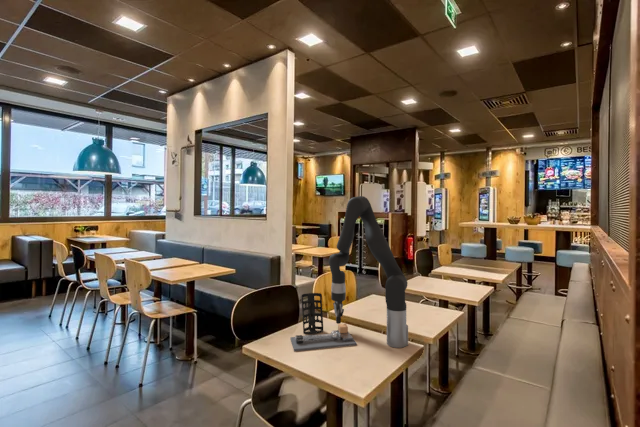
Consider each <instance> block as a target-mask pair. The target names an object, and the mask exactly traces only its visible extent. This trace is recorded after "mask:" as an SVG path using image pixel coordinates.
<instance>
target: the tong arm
mask: <svg viewBox="0 0 640 427" xmlns="http://www.w3.org/2000/svg"><path fill="white" fill-rule="evenodd" d="M332 335H333V334H331V333H323V334H321V333H319V334H304V335H302V334H298V335H295V336H294V337H295V340H296V339H297V340H303V339H312V338H329V337H332Z"/></svg>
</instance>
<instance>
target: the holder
mask: <svg viewBox="0 0 640 427" xmlns="http://www.w3.org/2000/svg"><path fill="white" fill-rule="evenodd" d="M306 297H307V300H304V298H306ZM315 297H319V299H315ZM319 305H320V306H319ZM316 310H319V311H320V313H318V312H317V313H316ZM305 311H307V314H306V313H305ZM301 313H302V330H303V334H304V335H317V334H321V333H323V332H324V316H323V296H322V293H319V292H312V293H311V292H309V293H303V294H301ZM319 317H320V318H319ZM316 323H320V325H321V326H318V325H317V326H316ZM306 324H308V326H307V327H306V326H305V325H306Z"/></svg>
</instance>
